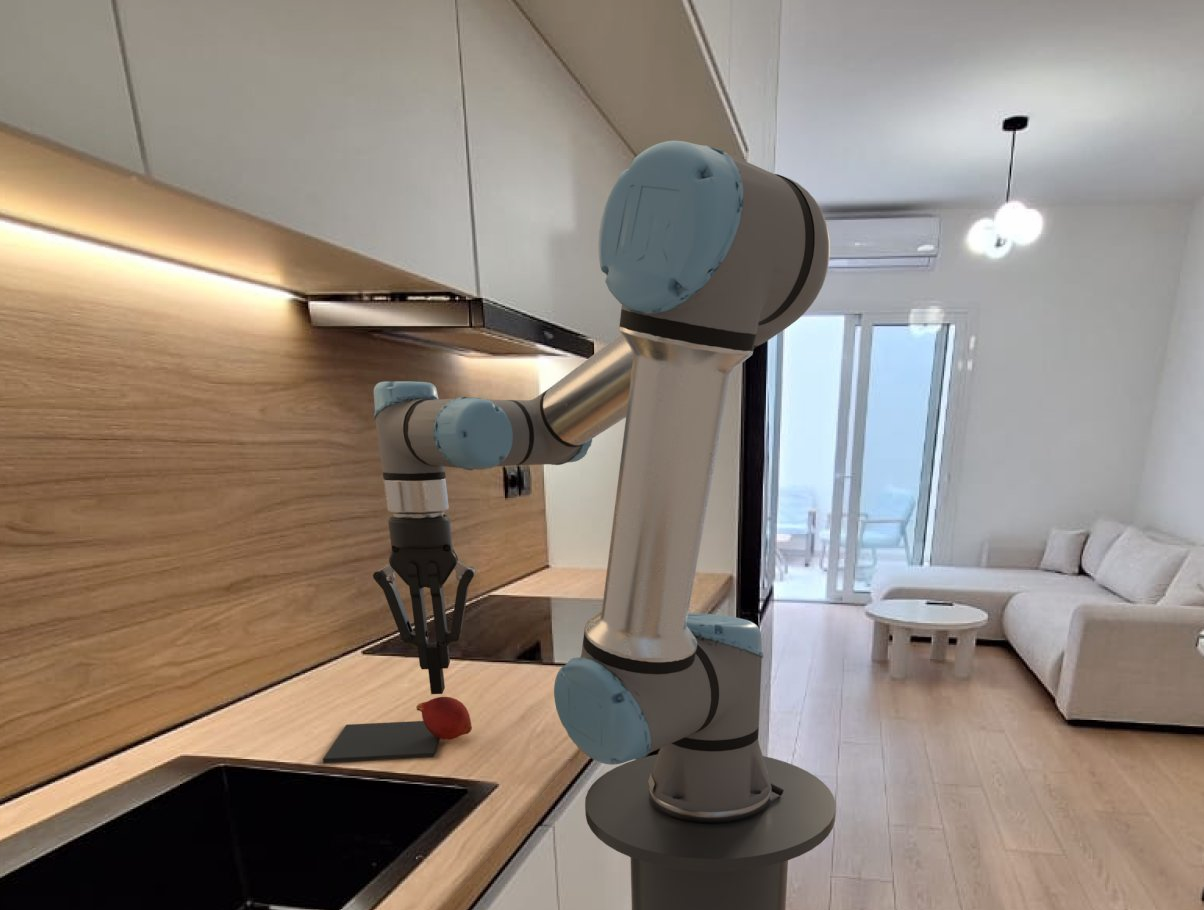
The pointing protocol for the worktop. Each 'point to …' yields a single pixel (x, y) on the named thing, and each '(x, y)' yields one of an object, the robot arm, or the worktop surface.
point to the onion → (445, 717)
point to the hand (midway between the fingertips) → (438, 690)
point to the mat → (383, 742)
